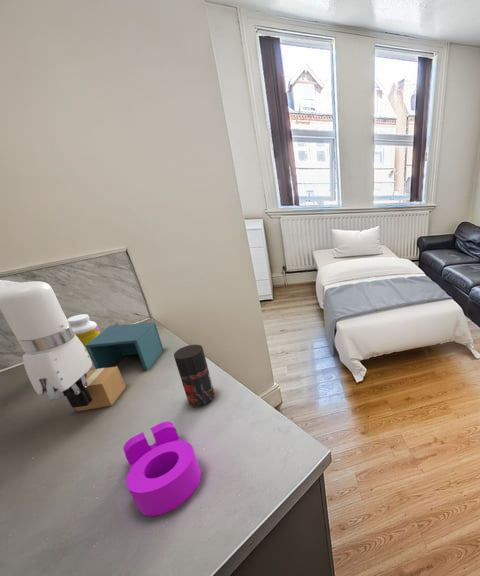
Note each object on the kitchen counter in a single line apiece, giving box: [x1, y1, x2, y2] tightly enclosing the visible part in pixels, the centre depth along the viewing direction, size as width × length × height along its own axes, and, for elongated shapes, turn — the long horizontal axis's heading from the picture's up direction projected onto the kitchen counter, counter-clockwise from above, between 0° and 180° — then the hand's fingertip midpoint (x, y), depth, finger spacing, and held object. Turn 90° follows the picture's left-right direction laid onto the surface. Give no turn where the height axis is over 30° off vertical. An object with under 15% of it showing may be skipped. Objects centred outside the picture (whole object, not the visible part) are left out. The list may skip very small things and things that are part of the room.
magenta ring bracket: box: [123, 421, 202, 517], centre depth 55 cm, size 16×10×6 cm, turn 48°
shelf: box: [86, 321, 164, 371], centre depth 87 cm, size 11×12×11 cm
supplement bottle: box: [67, 313, 101, 356], centre depth 91 cm, size 7×7×13 cm
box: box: [68, 365, 127, 412], centre depth 73 cm, size 7×7×7 cm
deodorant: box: [173, 344, 216, 409], centre depth 72 cm, size 6×6×15 cm
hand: (82, 404), depth 68 cm, fingers closed
